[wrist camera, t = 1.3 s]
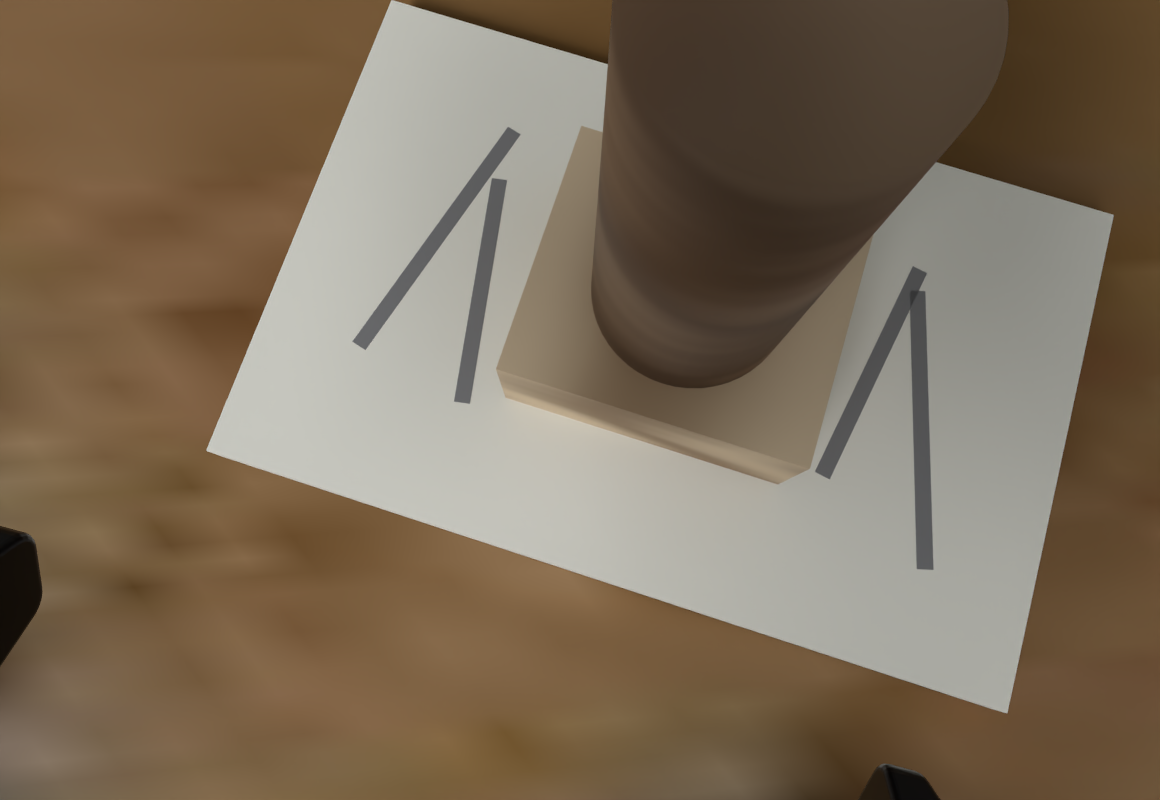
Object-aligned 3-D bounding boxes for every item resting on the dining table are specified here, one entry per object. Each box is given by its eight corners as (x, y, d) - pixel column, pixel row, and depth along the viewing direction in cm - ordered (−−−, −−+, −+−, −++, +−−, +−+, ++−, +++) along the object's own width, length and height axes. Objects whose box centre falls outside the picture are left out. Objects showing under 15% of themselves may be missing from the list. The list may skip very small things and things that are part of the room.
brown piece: (839, 262, 23) (1169, -133, 10) (777, 484, 22) (1065, 344, 9) (580, 183, 24) (593, -294, 11) (505, 397, 22) (422, 147, 10)
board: (1091, 229, 25) (1114, 215, 24) (987, 707, 22) (1007, 713, 21) (398, 22, 26) (391, -1, 25) (221, 456, 23) (206, 450, 22)
